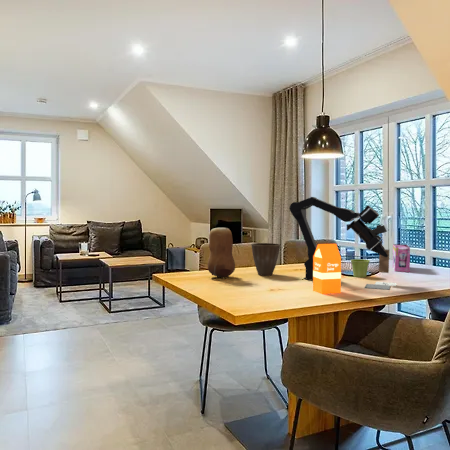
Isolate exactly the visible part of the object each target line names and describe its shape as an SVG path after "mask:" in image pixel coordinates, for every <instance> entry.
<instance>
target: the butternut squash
mask: <svg viewBox="0 0 450 450" xmlns="http://www.w3.org/2000/svg"><path fill="white" fill-rule="evenodd" d="M208 242H209V243H208V248H209V251H210V252H209V255H208V256H209V257H208V260H207V270H208V272H209V273H210V274H211V275H212V276H213V277H214V276H215V277H216V276H217V277H216V278H219V277H222V278H221V279H224V277H227V278H228V277H230V276H231V275H232V274H233V273H234V272H235V270H236V262H235V259H234V256H233V246H234V245H233V244H234V241H233V234H232V231H231V230H230V228H228V227H215V228H212V229H211V230H210V231H209V237H208Z"/></svg>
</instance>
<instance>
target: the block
mask: <svg viewBox="0 0 450 450" xmlns="http://www.w3.org/2000/svg"><path fill="white" fill-rule="evenodd" d="M384 250H385V252H386V253H387V255H388V257H384V256H382V255H380V254H378V255H379V258H378V262H379V263H378V273H384V274H385V273H387V274H389V271H390V249H386V248H385V249H384Z"/></svg>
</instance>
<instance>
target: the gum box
mask: <svg viewBox="0 0 450 450" xmlns="http://www.w3.org/2000/svg"><path fill="white" fill-rule="evenodd" d="M410 260H411V247H410V246H409V245H407V244H397V243H395V244H394V243H393V245H392V268H393V270H394V272H399V273H400V272H402V273H403V272H404V273H406V272H407V273H410V271H411V270H410V267H411V265H410V263H411V261H410Z"/></svg>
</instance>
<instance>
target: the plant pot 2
mask: <svg viewBox="0 0 450 450" xmlns="http://www.w3.org/2000/svg"><path fill="white" fill-rule="evenodd" d="M370 261H371V260H370V259H360V258H355V259H354V258H353V259H350V262H351V265H352V266H351V267H352V274H353V278H358V279H359V278H360V279H361V278H367V274H368V269H369V268H368V267H369V264H370V263H371V262H370Z"/></svg>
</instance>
